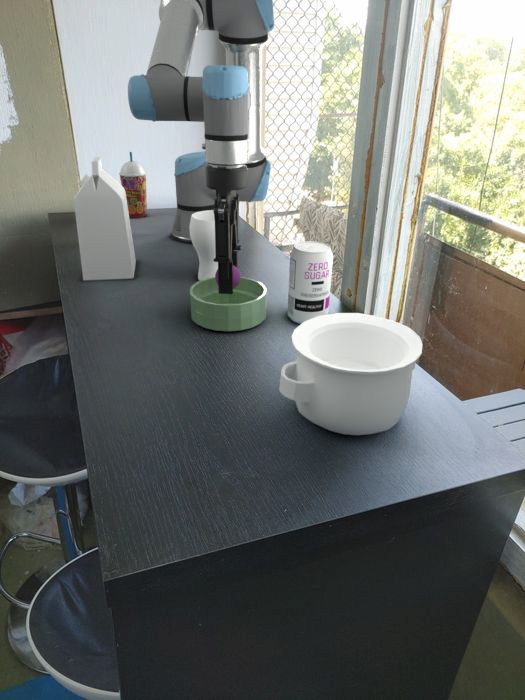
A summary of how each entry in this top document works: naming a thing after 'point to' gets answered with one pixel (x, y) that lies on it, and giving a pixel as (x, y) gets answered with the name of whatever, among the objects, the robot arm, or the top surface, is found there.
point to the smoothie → (134, 188)
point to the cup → (204, 242)
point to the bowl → (228, 305)
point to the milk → (103, 227)
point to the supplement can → (309, 280)
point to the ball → (235, 276)
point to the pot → (351, 371)
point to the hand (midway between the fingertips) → (228, 287)
